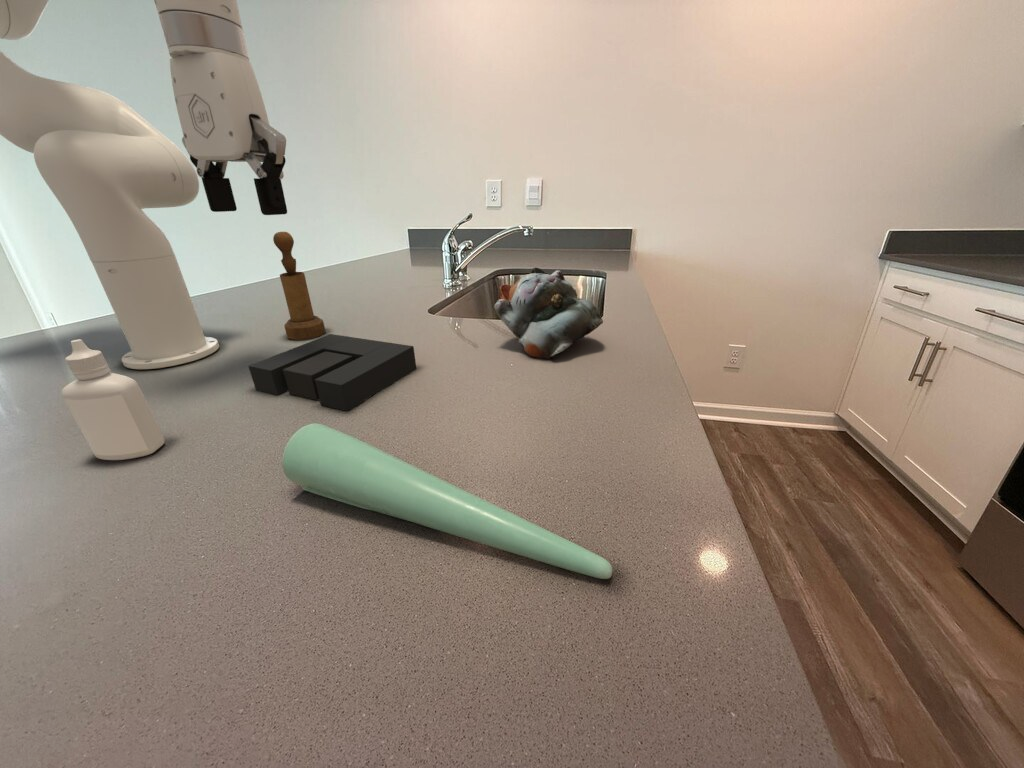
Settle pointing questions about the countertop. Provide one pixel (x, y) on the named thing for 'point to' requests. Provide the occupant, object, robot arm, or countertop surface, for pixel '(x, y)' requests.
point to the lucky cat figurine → (546, 313)
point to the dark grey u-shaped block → (340, 369)
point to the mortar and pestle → (296, 295)
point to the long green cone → (421, 498)
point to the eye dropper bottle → (109, 408)
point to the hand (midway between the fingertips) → (249, 212)
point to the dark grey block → (312, 373)
